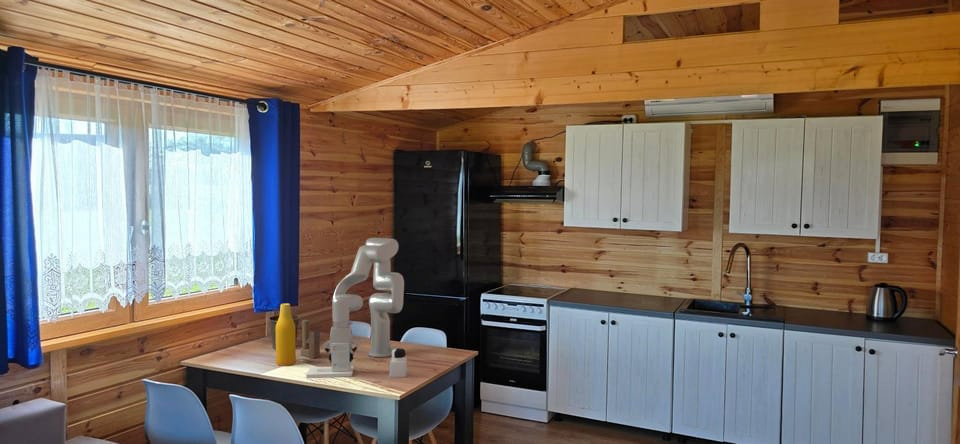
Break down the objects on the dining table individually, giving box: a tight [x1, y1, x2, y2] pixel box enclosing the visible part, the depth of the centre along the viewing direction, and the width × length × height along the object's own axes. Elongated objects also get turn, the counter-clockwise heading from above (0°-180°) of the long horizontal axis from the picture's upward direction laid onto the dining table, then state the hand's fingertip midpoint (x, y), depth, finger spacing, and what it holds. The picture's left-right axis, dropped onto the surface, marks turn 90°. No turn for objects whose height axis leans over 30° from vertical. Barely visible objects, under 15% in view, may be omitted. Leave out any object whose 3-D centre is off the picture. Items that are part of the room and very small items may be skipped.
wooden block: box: [300, 319, 321, 359], centre depth 326 cm, size 4×11×18 cm, turn 54°
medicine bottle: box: [389, 348, 408, 378], centre depth 295 cm, size 7×7×12 cm
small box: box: [330, 343, 352, 372], centre depth 298 cm, size 8×6×13 cm
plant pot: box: [267, 314, 301, 350], centre depth 344 cm, size 16×16×16 cm
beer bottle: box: [275, 303, 297, 367], centre depth 313 cm, size 9×9×29 cm
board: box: [305, 365, 354, 379], centre depth 298 cm, size 20×12×2 cm, turn 97°
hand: (341, 361), depth 298 cm, fingers closed on small box, 8 cm apart
